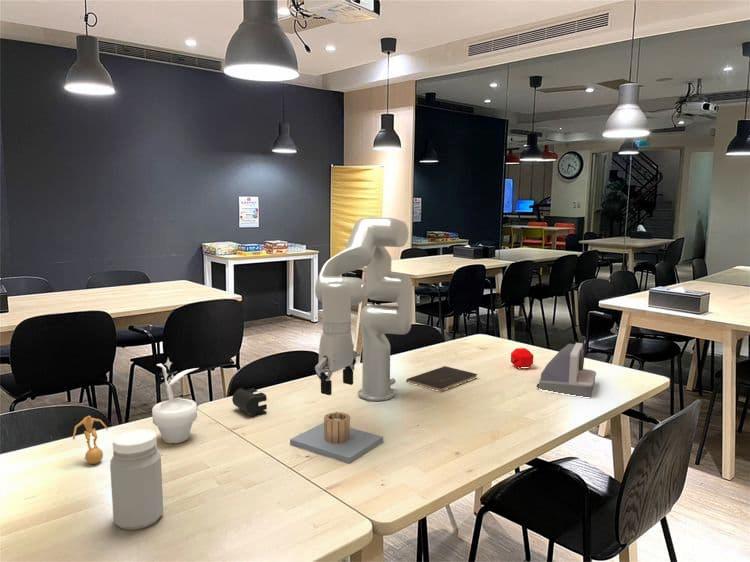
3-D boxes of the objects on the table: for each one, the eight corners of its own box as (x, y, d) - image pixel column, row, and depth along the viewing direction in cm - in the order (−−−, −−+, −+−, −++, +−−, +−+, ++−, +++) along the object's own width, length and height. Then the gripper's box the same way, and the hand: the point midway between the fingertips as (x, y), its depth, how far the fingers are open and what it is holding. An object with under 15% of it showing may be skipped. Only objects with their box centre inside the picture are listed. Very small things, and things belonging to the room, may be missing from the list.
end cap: (232, 410, 178) (231, 390, 177) (252, 405, 183) (251, 385, 182) (247, 419, 171) (246, 398, 170) (267, 414, 175) (267, 393, 174)
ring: (334, 430, 158) (334, 410, 158) (354, 436, 155) (354, 415, 154) (319, 439, 153) (318, 418, 152) (339, 445, 149) (339, 423, 148)
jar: (102, 526, 113) (96, 441, 111) (138, 502, 122) (133, 424, 120) (139, 536, 110) (135, 449, 107) (174, 511, 119) (170, 430, 117)
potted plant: (154, 451, 148) (150, 359, 145) (153, 435, 158) (148, 349, 155) (204, 443, 153) (200, 354, 150) (199, 428, 163) (196, 344, 160)
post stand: (326, 425, 166) (326, 404, 165) (383, 441, 155) (383, 419, 154) (290, 444, 153) (289, 421, 152) (349, 463, 142) (349, 439, 141)
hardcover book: (477, 379, 213) (477, 374, 212) (440, 394, 196) (440, 387, 196) (443, 371, 224) (443, 365, 223) (406, 384, 207) (406, 378, 207)
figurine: (80, 471, 137) (76, 424, 135) (71, 463, 141) (67, 417, 139) (114, 460, 143) (112, 415, 141) (105, 453, 147) (102, 409, 145)
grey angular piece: (588, 401, 189) (591, 358, 187) (528, 389, 201) (530, 348, 199) (603, 385, 206) (606, 345, 204) (547, 375, 218) (549, 337, 216)
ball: (508, 365, 231) (509, 347, 230) (527, 364, 232) (528, 346, 231) (515, 370, 223) (516, 352, 222) (534, 370, 224) (535, 351, 223)
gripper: (344, 319, 159) (345, 377, 161) (304, 332, 145) (306, 395, 147) (366, 323, 155) (366, 382, 157) (327, 336, 140) (328, 401, 143)
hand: (337, 388), depth 152 cm, fingers open, 9 cm apart
